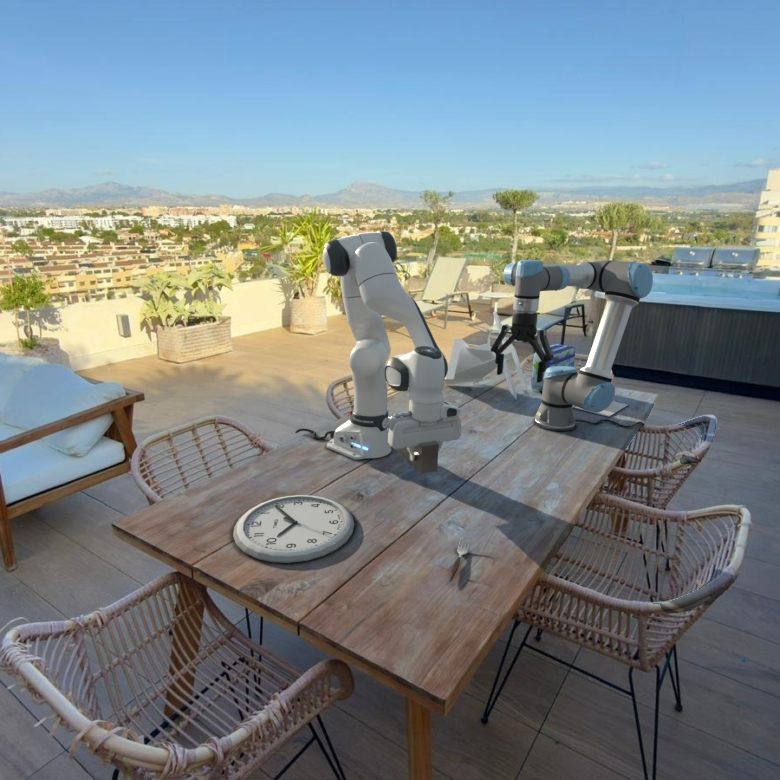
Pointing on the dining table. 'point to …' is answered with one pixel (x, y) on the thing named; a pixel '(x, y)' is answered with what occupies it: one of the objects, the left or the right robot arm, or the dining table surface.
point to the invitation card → (609, 409)
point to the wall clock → (293, 529)
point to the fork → (461, 551)
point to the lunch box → (553, 362)
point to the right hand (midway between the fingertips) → (519, 377)
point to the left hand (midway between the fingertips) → (424, 458)
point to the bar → (422, 456)
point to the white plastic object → (481, 363)
